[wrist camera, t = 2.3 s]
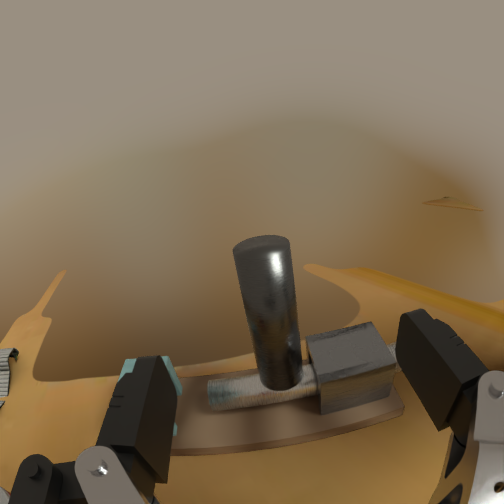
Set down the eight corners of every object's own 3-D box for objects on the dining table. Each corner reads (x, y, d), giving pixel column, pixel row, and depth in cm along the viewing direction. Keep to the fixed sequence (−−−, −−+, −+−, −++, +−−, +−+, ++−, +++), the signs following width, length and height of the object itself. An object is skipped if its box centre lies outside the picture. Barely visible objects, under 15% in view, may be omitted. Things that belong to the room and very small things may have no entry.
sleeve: (368, 356, 31) (371, 321, 29) (389, 396, 25) (396, 362, 23) (307, 370, 31) (305, 336, 29) (321, 415, 25) (320, 383, 23)
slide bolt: (395, 353, 29) (409, 211, 23) (410, 377, 26) (435, 226, 19) (215, 390, 29) (169, 252, 23) (215, 420, 26) (158, 275, 19)
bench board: (369, 353, 33) (370, 344, 32) (401, 414, 24) (404, 406, 23) (149, 388, 33) (145, 380, 32) (135, 454, 24) (128, 447, 23)
